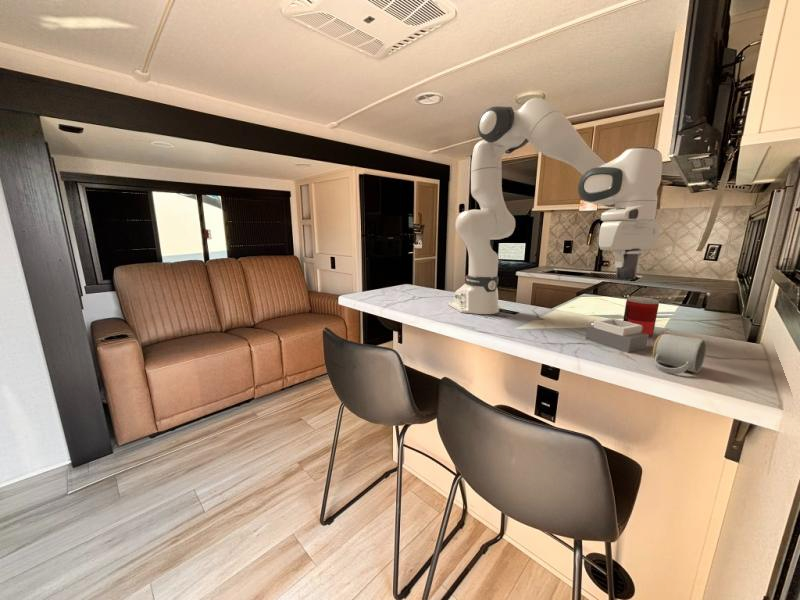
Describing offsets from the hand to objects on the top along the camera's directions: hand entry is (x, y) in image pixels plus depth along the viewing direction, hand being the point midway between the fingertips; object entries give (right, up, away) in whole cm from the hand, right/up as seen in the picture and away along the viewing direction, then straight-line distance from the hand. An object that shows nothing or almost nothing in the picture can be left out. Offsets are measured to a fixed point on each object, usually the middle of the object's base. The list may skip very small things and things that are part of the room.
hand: (626, 266), depth 84 cm
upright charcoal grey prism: (0, -3, +1) cm, 3 cm away
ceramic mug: (+3, -25, -11) cm, 28 cm away
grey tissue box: (0, -21, +5) cm, 22 cm away
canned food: (+13, -20, +14) cm, 28 cm away
